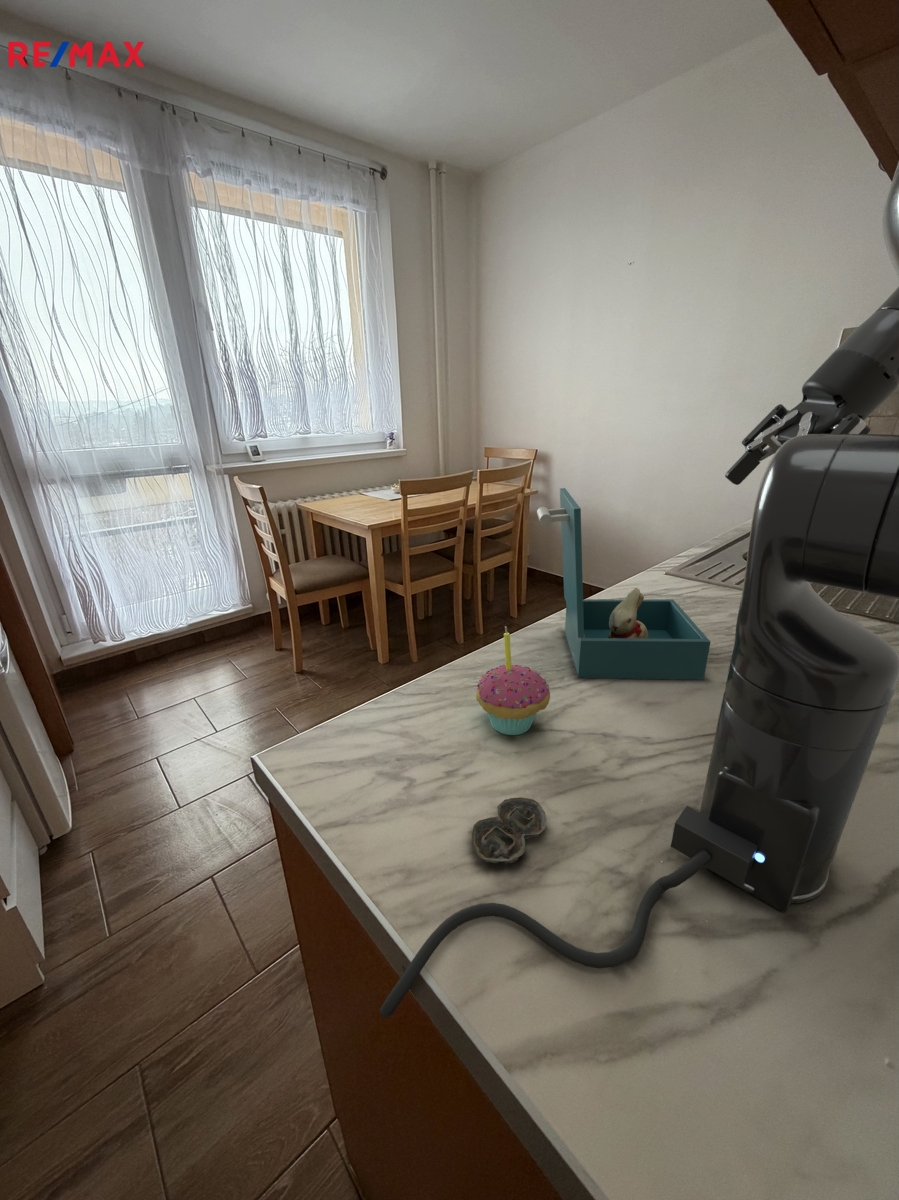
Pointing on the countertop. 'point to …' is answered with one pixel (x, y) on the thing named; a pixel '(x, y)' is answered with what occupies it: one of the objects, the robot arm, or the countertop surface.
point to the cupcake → (512, 695)
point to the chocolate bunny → (628, 618)
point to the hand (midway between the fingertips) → (748, 488)
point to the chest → (638, 643)
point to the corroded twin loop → (508, 830)
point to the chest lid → (569, 553)
